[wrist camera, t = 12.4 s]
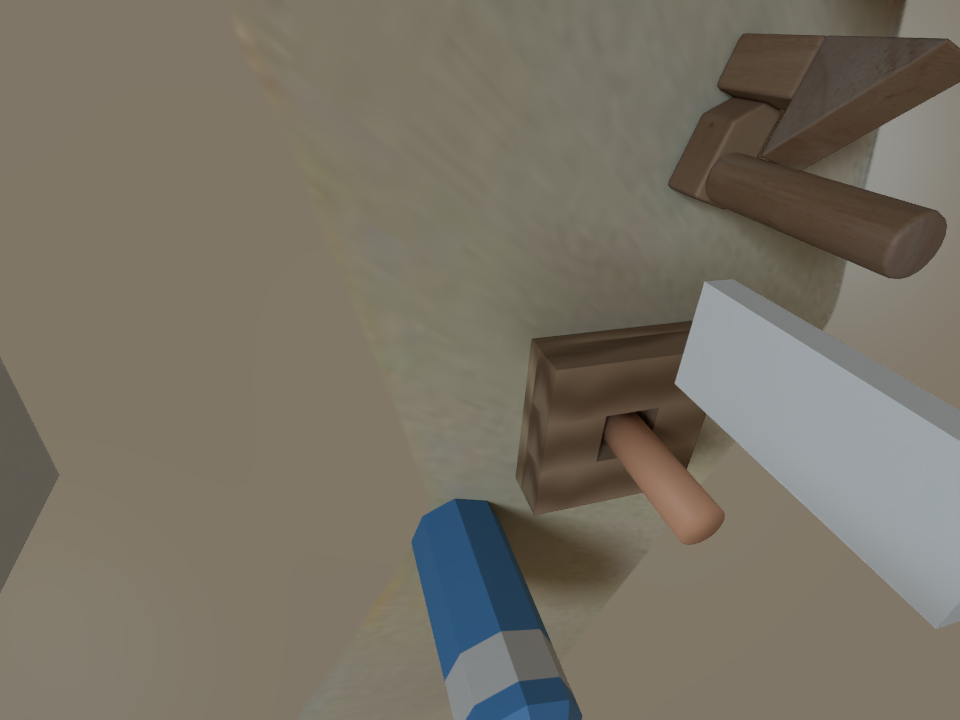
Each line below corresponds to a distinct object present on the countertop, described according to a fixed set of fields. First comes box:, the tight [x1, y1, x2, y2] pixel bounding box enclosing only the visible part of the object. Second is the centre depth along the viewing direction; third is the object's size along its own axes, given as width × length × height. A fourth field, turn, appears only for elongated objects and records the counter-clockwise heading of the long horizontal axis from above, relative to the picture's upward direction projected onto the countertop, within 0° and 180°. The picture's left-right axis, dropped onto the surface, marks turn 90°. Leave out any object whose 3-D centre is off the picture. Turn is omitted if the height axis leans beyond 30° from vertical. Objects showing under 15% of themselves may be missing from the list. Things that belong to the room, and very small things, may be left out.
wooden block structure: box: [668, 34, 960, 279], centre depth 32 cm, size 4×11×18 cm, turn 159°
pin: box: [602, 412, 725, 545], centre depth 44 cm, size 4×4×14 cm
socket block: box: [516, 321, 706, 515], centre depth 49 cm, size 16×16×5 cm
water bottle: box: [412, 499, 582, 720], centre depth 44 cm, size 9×9×25 cm
